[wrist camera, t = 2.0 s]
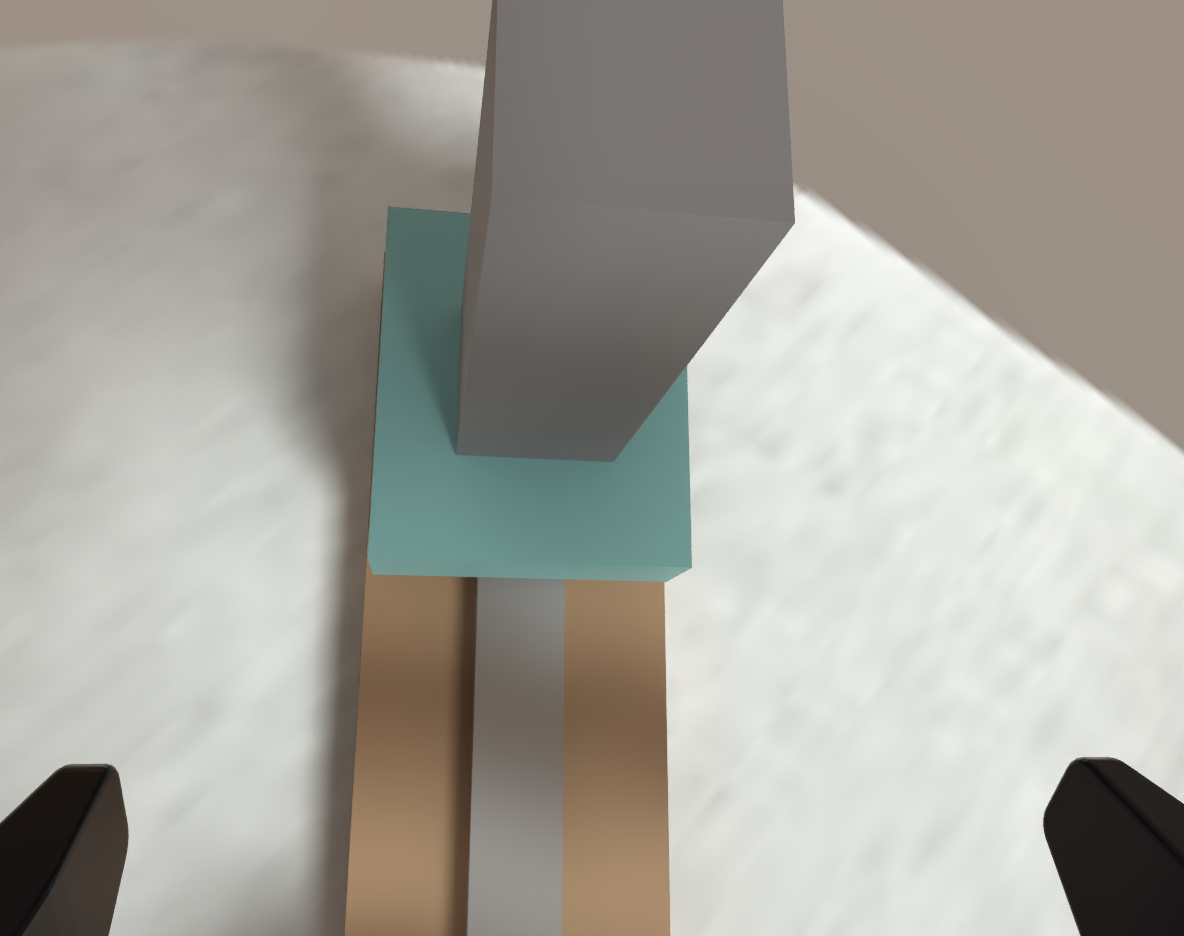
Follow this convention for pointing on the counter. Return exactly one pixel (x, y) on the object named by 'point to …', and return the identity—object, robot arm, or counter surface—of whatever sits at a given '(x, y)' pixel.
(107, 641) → the counter surface
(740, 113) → the carriage
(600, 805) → the rail
